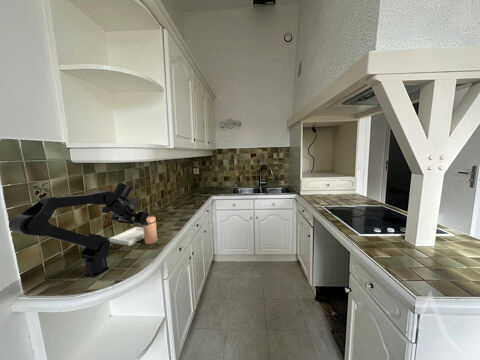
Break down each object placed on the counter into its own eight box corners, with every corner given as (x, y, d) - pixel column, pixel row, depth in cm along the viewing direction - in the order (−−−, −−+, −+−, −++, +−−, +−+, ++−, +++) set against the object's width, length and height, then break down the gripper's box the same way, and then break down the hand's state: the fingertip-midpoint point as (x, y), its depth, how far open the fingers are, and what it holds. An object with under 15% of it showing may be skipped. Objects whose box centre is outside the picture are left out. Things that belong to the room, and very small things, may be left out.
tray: (129, 245, 108) (128, 241, 108) (109, 242, 113) (109, 238, 112) (154, 233, 125) (153, 229, 124) (136, 230, 130) (135, 226, 129)
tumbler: (151, 244, 109) (149, 220, 107) (141, 243, 111) (139, 219, 109) (160, 239, 115) (158, 216, 113) (150, 238, 117) (148, 215, 116)
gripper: (143, 195, 96) (162, 211, 107) (114, 193, 102) (134, 209, 114) (131, 216, 89) (152, 231, 101) (100, 213, 96) (123, 228, 108)
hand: (140, 224), depth 106 cm, fingers open, 9 cm apart
